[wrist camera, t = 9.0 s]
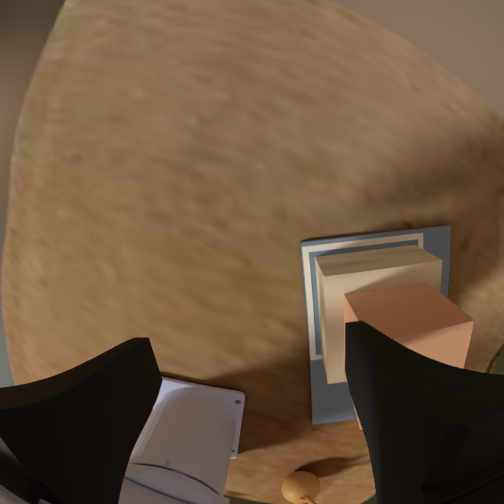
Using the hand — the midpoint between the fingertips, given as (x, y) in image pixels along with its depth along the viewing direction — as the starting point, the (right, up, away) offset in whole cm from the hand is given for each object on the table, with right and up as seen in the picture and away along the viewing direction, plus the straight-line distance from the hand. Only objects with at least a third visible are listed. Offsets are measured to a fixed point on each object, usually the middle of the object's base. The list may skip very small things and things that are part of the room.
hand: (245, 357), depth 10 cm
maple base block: (+8, 0, +9) cm, 12 cm away
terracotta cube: (+8, -1, +5) cm, 9 cm away
